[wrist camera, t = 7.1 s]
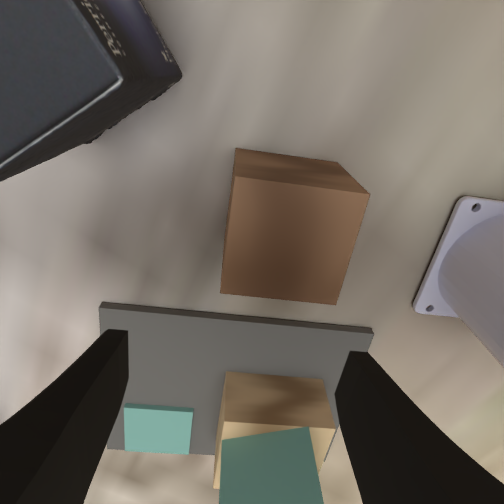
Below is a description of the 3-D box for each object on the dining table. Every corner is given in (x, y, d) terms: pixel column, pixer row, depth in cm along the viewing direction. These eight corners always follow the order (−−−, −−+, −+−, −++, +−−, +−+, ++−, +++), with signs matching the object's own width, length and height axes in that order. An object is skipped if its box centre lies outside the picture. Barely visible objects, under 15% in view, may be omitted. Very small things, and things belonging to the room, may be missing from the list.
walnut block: (336, 162, 19) (370, 194, 14) (314, 251, 22) (336, 305, 17) (235, 147, 19) (235, 176, 14) (224, 241, 21) (220, 293, 16)
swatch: (193, 407, 27) (193, 412, 26) (189, 449, 29) (188, 454, 29) (125, 403, 26) (123, 407, 26) (126, 446, 29) (124, 450, 28)
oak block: (322, 379, 26) (335, 428, 22) (302, 441, 29) (311, 493, 25) (226, 371, 25) (224, 421, 22) (216, 435, 28) (213, 488, 25)
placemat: (371, 328, 25) (374, 334, 24) (323, 454, 31) (324, 461, 30) (101, 302, 23) (98, 307, 22) (109, 441, 29) (107, 448, 29)
